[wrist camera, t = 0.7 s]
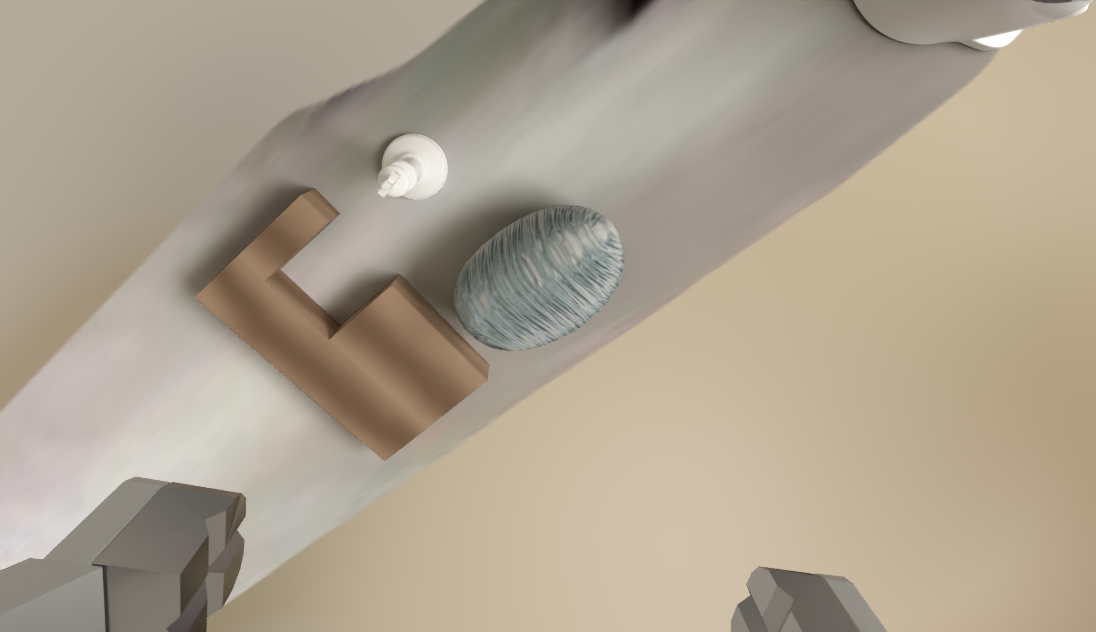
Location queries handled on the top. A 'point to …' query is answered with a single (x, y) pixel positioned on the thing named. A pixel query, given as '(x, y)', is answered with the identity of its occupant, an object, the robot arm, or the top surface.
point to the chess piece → (412, 168)
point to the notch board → (346, 338)
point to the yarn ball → (539, 278)
